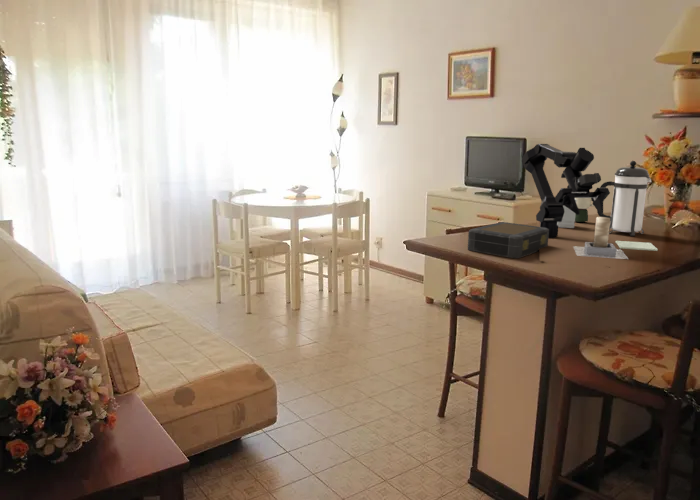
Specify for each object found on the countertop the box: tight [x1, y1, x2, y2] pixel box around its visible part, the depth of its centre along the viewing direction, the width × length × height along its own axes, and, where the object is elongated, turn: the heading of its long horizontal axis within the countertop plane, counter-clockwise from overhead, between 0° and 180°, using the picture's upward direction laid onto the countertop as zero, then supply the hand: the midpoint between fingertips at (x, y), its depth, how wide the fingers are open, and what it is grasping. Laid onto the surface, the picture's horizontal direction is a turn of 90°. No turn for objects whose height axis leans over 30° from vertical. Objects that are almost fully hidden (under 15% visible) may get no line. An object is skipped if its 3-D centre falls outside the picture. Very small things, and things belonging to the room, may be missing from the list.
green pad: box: [615, 240, 658, 252], centre depth 211 cm, size 12×12×2 cm
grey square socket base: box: [572, 241, 629, 260], centre depth 199 cm, size 16×16×4 cm
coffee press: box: [596, 160, 652, 238], centre depth 239 cm, size 17×16×30 cm
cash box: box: [467, 221, 549, 259], centre depth 207 cm, size 25×20×8 cm
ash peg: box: [593, 216, 610, 247], centre depth 198 cm, size 4×4×12 cm
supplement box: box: [557, 199, 577, 229], centre depth 255 cm, size 7×7×13 cm
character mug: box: [575, 198, 595, 223], centre depth 267 cm, size 11×7×13 cm, turn 47°
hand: (590, 214), depth 204 cm, fingers open, 9 cm apart
